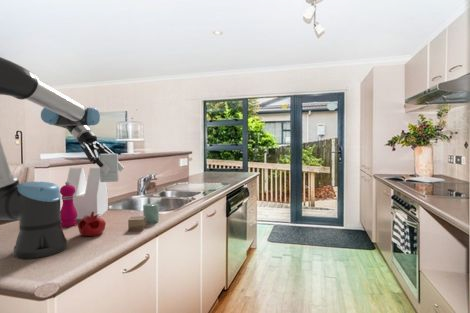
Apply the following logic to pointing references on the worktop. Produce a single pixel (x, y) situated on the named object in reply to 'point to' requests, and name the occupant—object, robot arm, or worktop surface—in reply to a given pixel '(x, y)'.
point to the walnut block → (137, 223)
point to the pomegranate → (91, 225)
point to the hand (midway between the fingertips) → (115, 170)
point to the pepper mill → (68, 206)
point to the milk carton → (88, 192)
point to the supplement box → (111, 162)
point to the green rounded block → (151, 212)
